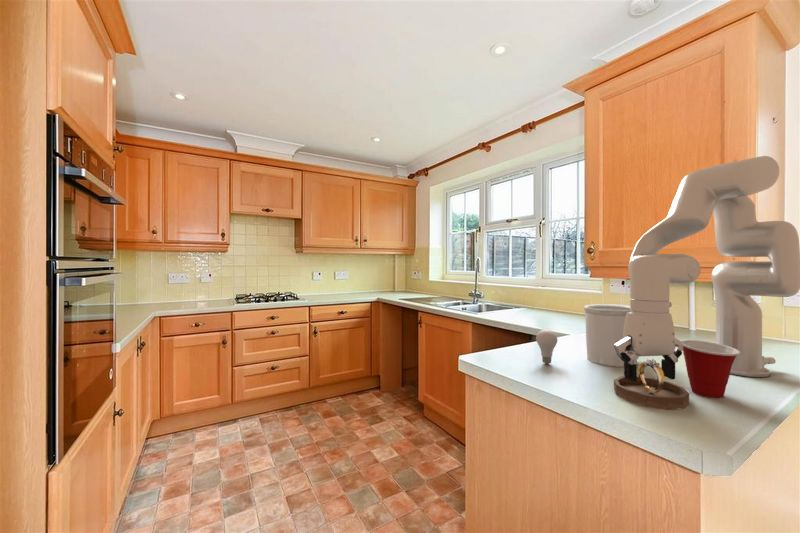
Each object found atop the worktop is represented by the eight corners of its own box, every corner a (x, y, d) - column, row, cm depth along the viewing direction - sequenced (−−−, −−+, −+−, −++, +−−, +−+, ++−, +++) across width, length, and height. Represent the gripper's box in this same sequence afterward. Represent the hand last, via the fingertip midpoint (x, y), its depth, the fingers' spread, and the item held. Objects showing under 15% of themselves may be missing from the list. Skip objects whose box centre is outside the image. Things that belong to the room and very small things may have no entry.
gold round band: (667, 398, 78) (667, 364, 78) (652, 398, 78) (653, 363, 78) (647, 387, 85) (648, 355, 85) (634, 387, 85) (634, 355, 85)
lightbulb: (558, 363, 108) (558, 328, 108) (555, 368, 103) (555, 332, 103) (538, 360, 112) (538, 326, 111) (534, 365, 106) (534, 330, 106)
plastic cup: (729, 407, 75) (729, 353, 75) (671, 391, 84) (671, 343, 84) (747, 397, 80) (747, 346, 80) (690, 383, 90) (690, 337, 90)
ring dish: (652, 384, 89) (652, 375, 89) (705, 407, 75) (704, 396, 75) (601, 387, 88) (601, 377, 88) (645, 410, 74) (645, 399, 74)
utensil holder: (579, 361, 110) (579, 307, 109) (589, 352, 121) (589, 302, 121) (634, 371, 100) (634, 311, 100) (640, 359, 111) (640, 305, 111)
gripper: (669, 304, 86) (669, 371, 86) (604, 306, 84) (604, 375, 84) (697, 308, 78) (697, 382, 78) (627, 310, 77) (627, 386, 77)
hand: (649, 378), depth 81 cm, fingers open, 9 cm apart
